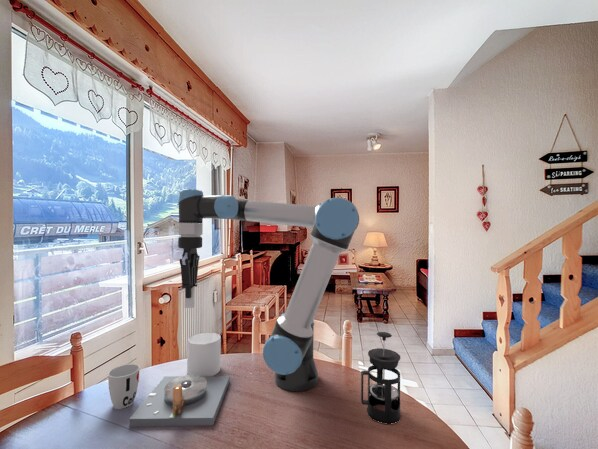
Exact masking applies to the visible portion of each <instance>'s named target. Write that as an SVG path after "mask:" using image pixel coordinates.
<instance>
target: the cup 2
mask: <svg viewBox="0 0 598 449" xmlns="http://www.w3.org/2000/svg"><path fill="white" fill-rule="evenodd" d="M221 345H222V337H221V335H220V334H218V333H216V332H200V333H196V334H194V335H193V334H192V336H189V338H188V339H187V346H186V347H187V349H186V350H187V351H186V352H187V353H186V354H187V355H186V358H187V359H186V374H187V375H200V376H217V374H218V373H219V372H220V371H221V362H222V361H221V357H222V356H221V355H222V354H221V353H222V352H221V350H222V348H221Z"/></svg>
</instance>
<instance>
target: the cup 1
mask: <svg viewBox="0 0 598 449" xmlns="http://www.w3.org/2000/svg"><path fill="white" fill-rule="evenodd" d="M107 380H108V381H107V382H108V392H109V396H110V400H111V403H112V406H113V408H114V409H115V410H123V409H122V408H124V409H127V408H129V407H130V406H132V405H133V404H134V401H135V398H136V395H137V391H138V386H139V382H140V365H139V364H135V363H128V364H122V365H119V366H115V367H113V368H112V369H111V370H110V371H108V373H107ZM128 406H129V407H128ZM126 407H127V408H126Z"/></svg>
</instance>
